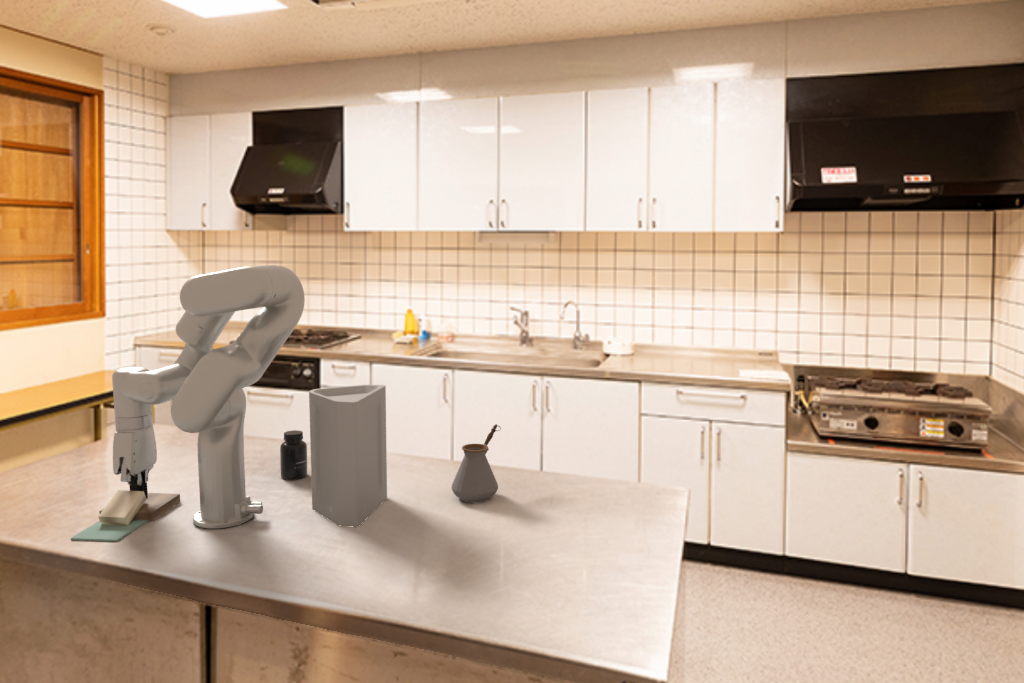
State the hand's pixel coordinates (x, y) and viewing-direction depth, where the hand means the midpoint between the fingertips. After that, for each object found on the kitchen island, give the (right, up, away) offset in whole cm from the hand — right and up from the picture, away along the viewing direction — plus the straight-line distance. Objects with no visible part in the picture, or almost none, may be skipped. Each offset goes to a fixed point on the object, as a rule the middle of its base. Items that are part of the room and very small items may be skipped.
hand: (139, 499), depth 163 cm
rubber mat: (-1, -4, -10) cm, 11 cm away
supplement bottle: (+28, 0, +26) cm, 38 cm away
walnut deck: (0, -3, +1) cm, 3 cm away
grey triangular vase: (+46, -3, +3) cm, 46 cm away
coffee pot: (+78, -2, +16) cm, 80 cm away
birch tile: (-1, -1, -5) cm, 5 cm away
